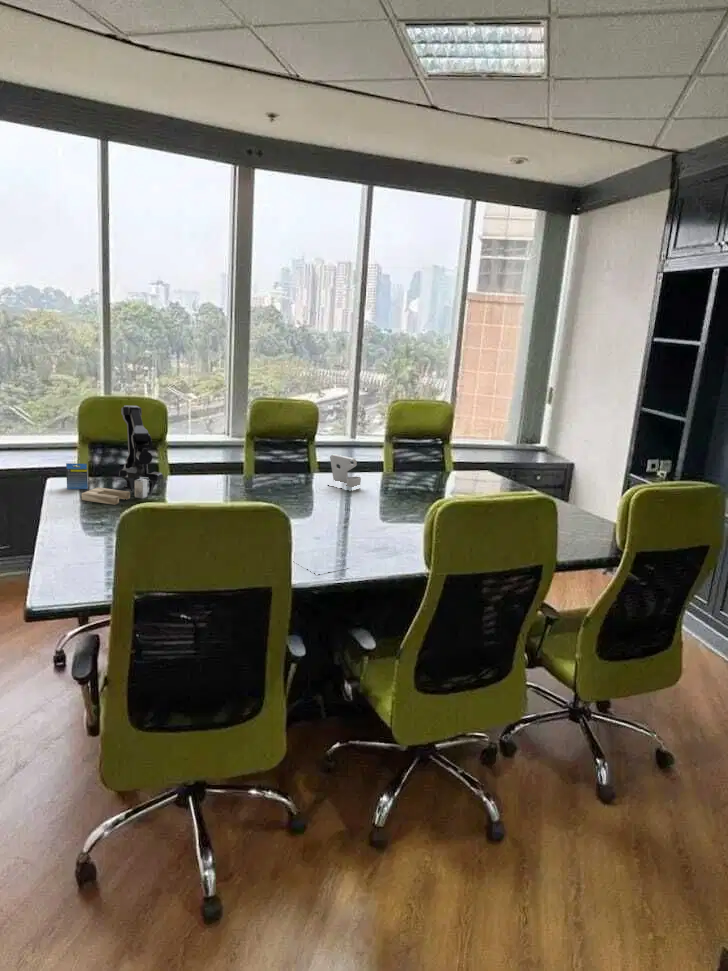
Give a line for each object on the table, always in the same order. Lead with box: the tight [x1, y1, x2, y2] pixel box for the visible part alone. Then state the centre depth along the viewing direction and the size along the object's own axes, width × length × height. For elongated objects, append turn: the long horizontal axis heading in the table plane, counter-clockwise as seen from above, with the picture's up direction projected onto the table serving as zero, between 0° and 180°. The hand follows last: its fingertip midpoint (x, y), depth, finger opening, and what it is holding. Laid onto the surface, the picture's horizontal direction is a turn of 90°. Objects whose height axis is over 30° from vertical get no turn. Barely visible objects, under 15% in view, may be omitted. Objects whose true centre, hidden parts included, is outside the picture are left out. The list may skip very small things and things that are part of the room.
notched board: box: [81, 487, 131, 505], centre depth 267 cm, size 12×16×3 cm
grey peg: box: [134, 478, 148, 499], centre depth 274 cm, size 4×4×8 cm
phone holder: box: [329, 453, 362, 487], centre depth 325 cm, size 17×10×18 cm, turn 57°
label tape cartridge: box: [65, 462, 89, 490], centre depth 278 cm, size 9×4×12 cm, turn 108°
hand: (141, 492), depth 275 cm, fingers open, 9 cm apart
